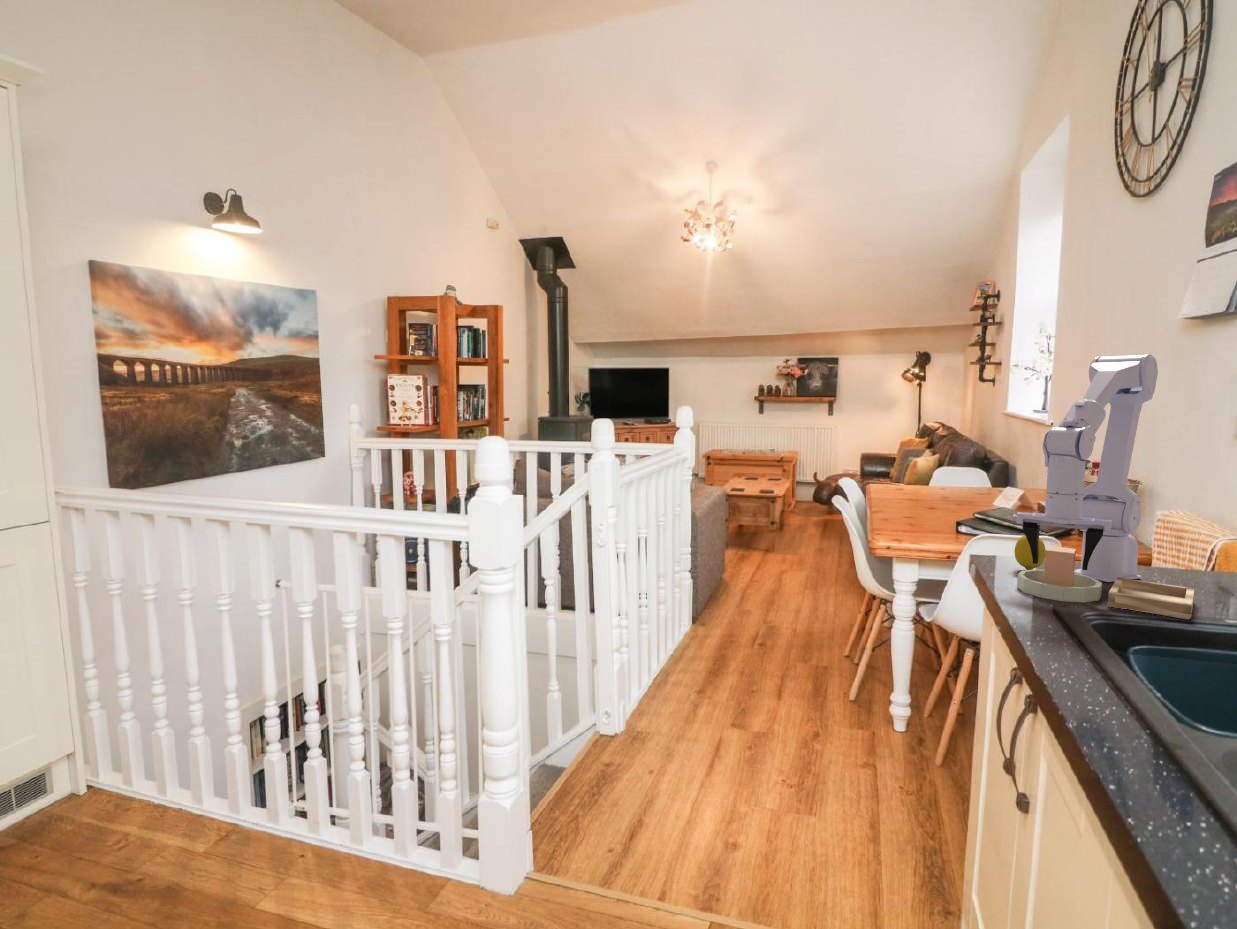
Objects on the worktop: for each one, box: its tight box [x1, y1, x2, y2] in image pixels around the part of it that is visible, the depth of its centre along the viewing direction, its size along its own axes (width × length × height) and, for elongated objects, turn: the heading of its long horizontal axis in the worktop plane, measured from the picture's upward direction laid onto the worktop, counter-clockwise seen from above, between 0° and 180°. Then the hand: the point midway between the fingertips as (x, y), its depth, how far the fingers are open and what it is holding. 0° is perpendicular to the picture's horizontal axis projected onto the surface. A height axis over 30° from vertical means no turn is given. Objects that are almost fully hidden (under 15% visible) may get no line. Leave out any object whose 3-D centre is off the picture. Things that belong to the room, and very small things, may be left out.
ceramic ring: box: [1016, 568, 1103, 603], centre depth 127 cm, size 13×13×2 cm
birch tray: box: [1107, 577, 1195, 619], centre depth 119 cm, size 13×11×2 cm
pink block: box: [1044, 545, 1077, 587], centre depth 126 cm, size 4×4×8 cm
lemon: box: [1014, 534, 1047, 570], centre depth 141 cm, size 6×6×8 cm
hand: (1059, 565), depth 126 cm, fingers open, 7 cm apart
